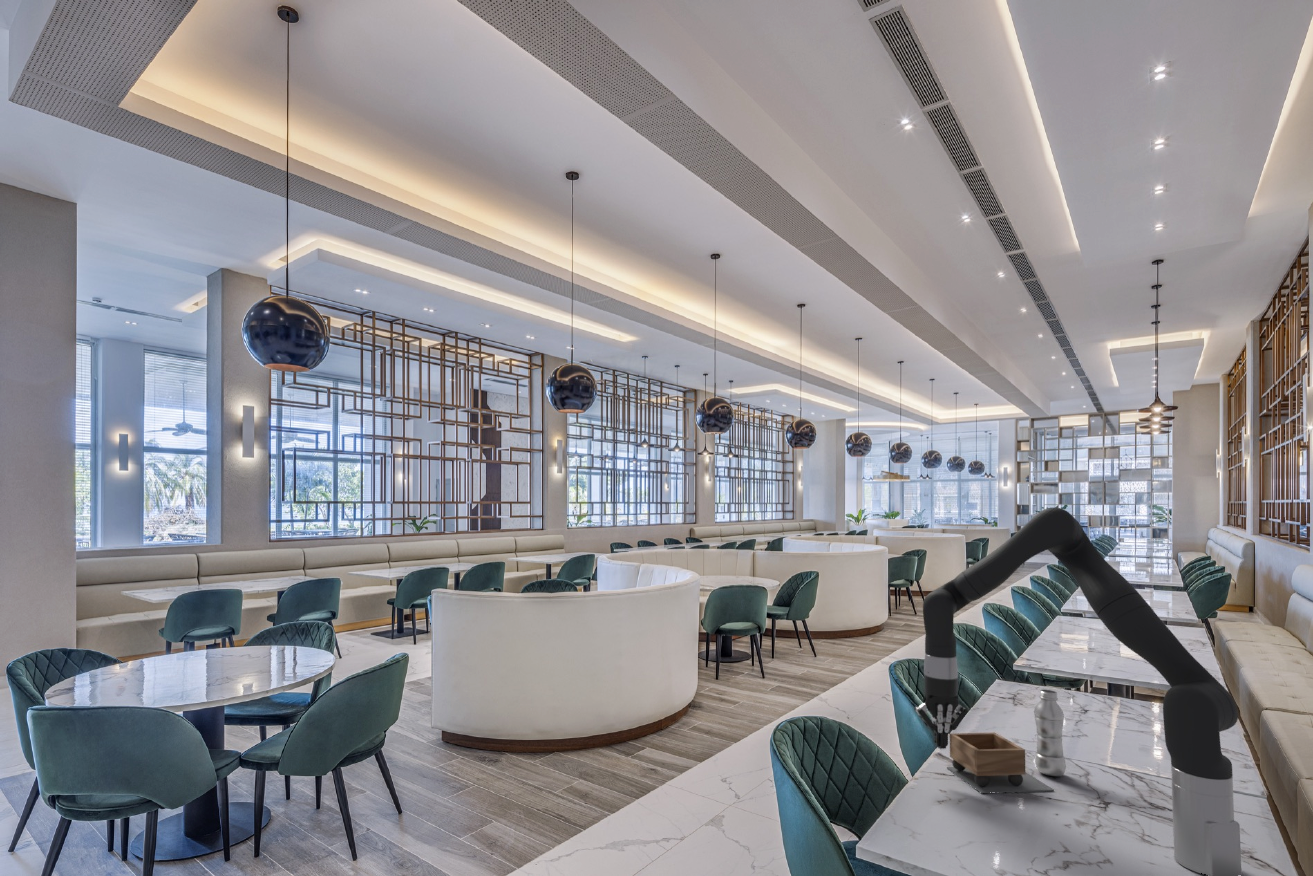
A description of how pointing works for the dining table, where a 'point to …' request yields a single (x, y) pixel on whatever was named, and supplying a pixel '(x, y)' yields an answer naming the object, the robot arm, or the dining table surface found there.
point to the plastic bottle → (1049, 735)
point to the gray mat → (1003, 783)
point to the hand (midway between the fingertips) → (941, 747)
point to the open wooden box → (987, 757)
